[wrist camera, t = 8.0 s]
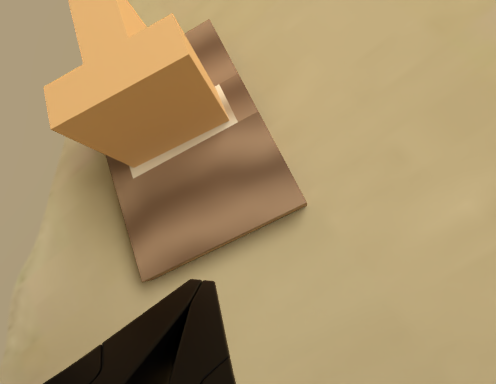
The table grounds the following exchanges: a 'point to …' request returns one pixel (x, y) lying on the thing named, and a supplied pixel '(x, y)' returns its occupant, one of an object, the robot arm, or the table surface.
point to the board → (206, 178)
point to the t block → (132, 85)
